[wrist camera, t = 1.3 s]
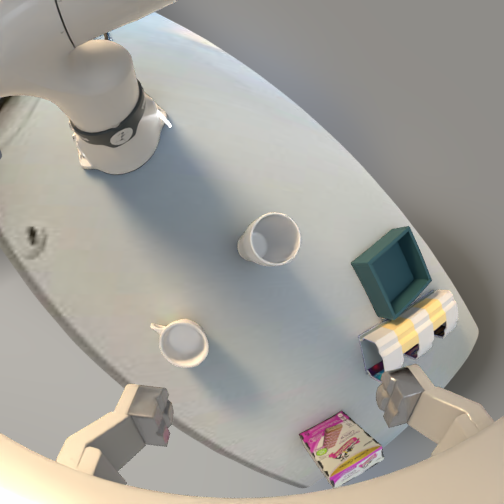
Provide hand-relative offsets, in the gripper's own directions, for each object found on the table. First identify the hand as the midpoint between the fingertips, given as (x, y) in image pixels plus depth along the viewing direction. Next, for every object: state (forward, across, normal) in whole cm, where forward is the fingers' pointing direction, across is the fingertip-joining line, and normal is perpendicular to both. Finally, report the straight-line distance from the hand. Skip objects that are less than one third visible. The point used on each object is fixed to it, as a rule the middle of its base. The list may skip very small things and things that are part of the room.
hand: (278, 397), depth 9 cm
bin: (+43, -28, +13) cm, 53 cm away
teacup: (+33, +13, +18) cm, 40 cm away
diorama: (+40, -34, +27) cm, 59 cm away
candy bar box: (+29, -14, +44) cm, 55 cm away
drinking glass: (+40, 0, +5) cm, 40 cm away
